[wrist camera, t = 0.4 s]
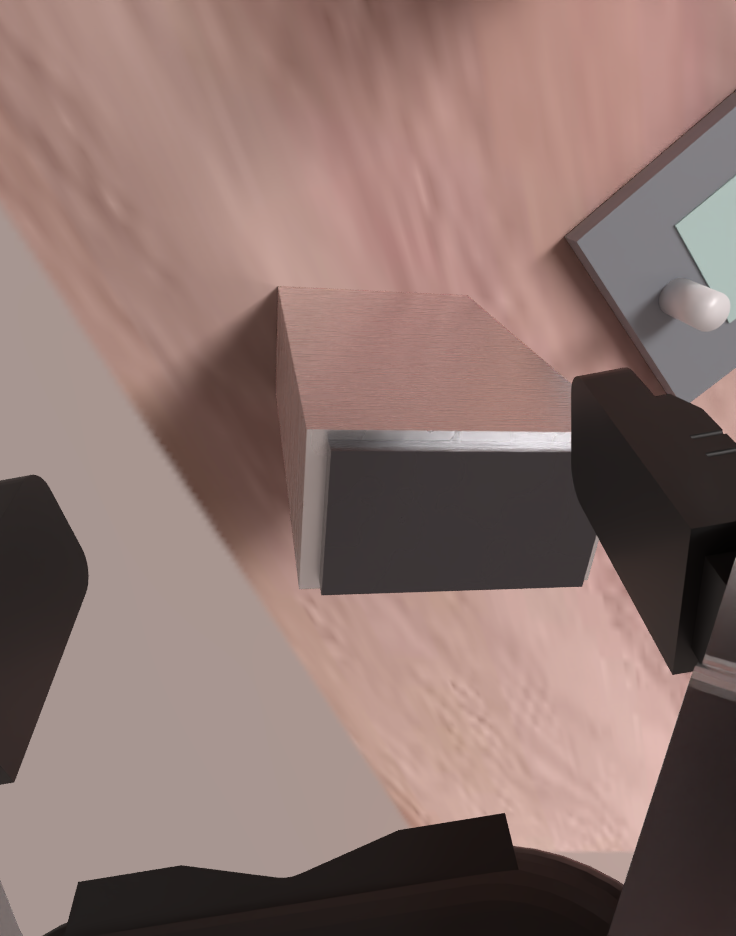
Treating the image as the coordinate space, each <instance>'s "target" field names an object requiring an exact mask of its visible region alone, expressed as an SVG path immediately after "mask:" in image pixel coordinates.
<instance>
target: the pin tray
mask: <svg viewBox="0 0 736 936" xmlns="http://www.w3.org/2000/svg"><path fill="white" fill-rule="evenodd" d="M565 238H566V240H567V241H568V243H569V244H570V246H571V247H572V249H573V251H574V252H575V254H576V255H577V257H578V258H579V260H580V261H581V263H582V264H583V266H584V267H585V269H586V270H587V272H588V274H589V275H590V277H591V278H592V280H593V281H594V283H595V284H596V286H597V287H598V289H599V290H600V292H601V293H602V295H603V296H604V298H605V300H606V301H607V303H608V304H609V306H610V307H611V309H612V310H613V312H614V313H615V315H616V316H617V318H618V319H619V321H620V323H621V324H622V326H623V327H624V329H625V330H626V332H627V333H628V335H629V336H630V338H631V339H632V341H633V342H634V344H635V346H636V347H637V349H638V350H639V352H640V353H641V355H642V356H643V358H644V359H645V361H646V362H647V364H648V365H649V367H650V369H651V370H652V372H653V373H654V375H655V376H656V378H657V379H658V381H659V382H660V384H661V385H662V387H663V388H664V390H665V391H666V393H667V394H672V395H674V396H676V397H678V398H681V399H683V400H685V401H687V402H689V403H690V402H691V401H693V400H694V399H695V398H697V397H698V396H699V395H701V394H702V393H703V392H704V391H706V390H707V389H708V388H710V387H711V386H712V385H714V384H715V383H716V382H718V381H719V380H720V379H722V378H723V377H724V376H725V375H727V374H728V373H729V372H731V371H732V370H733V369H735V368H736V91H734V92H733V93H732V94H731V95H730V96H729V97H727V98H726V99H725V100H724V101H723V102H722V103H720V104H719V105H718V106H717V107H716V108H715V109H713V110H712V111H711V112H710V113H709V114H707V115H706V116H705V117H704V118H703V119H702V120H700V121H699V122H698V123H697V124H696V125H695V126H693V127H692V128H691V129H690V130H689V131H688V132H686V133H685V134H684V135H683V136H682V137H681V138H679V139H678V140H677V141H676V142H675V143H674V144H672V145H671V146H670V147H669V148H668V149H667V150H665V151H664V152H663V153H662V154H661V155H659V156H658V157H657V158H656V159H655V160H654V161H652V162H651V163H650V164H649V165H648V166H647V167H645V168H644V169H643V170H642V171H641V172H640V173H638V174H637V175H636V176H635V177H634V178H633V179H631V180H630V181H629V182H628V183H627V184H626V185H624V186H623V187H622V188H621V189H620V190H618V191H617V192H616V193H615V194H614V195H613V196H611V197H610V198H609V199H608V200H607V201H606V202H604V203H603V204H602V205H601V206H600V207H599V208H597V209H596V210H595V211H594V212H593V213H592V214H590V215H589V216H588V217H587V218H586V219H585V220H583V221H582V222H581V223H580V224H579V225H577V226H576V227H575V228H574V229H573V230H572V231H570V232H569V233H568V234H567V235H566V236H565Z"/></svg>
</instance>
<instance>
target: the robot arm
mask: <svg viewBox="0 0 736 936" xmlns="http://www.w3.org/2000/svg"><path fill="white" fill-rule="evenodd" d="M571 470H572V478H573V484H574V488H575V492H576V495H577V498H578V501H579V503H580V505H581V507H582V509H583V511H584V513H585V515H586V516H587V518H588V520H589V522H590V524H591V526H592V527H593V529H594V531H595V533H596V535H597V537H598V538H599V540H600V542H601V544H602V546H603V548H604V550H605V551H606V553H607V555H608V557H609V559H610V561H611V562H612V564H613V566H614V568H615V570H616V572H617V573H618V575H619V577H620V579H621V581H622V583H623V584H624V586H625V588H626V590H627V592H628V594H629V596H630V597H631V599H632V601H633V603H634V605H635V607H636V608H637V610H638V612H639V614H640V616H641V618H642V619H643V621H644V623H645V625H646V627H647V629H648V631H649V632H650V634H651V636H652V638H653V640H654V642H655V643H656V645H657V647H658V649H659V651H660V653H661V654H662V656H663V658H664V660H665V662H666V664H667V666H668V667H669V669H670V671H671V673H672V675H675V674H680V673H686V672H692V671H693V673H692V675H691V678H690V681H689V684H688V687H687V690H686V693H685V697H684V700H683V703H682V706H681V709H680V712H679V715H678V718H677V721H676V724H675V728H674V731H673V734H672V737H671V740H670V743H669V746H668V749H667V752H666V755H665V759H664V762H663V765H662V768H661V771H660V774H659V777H658V780H657V783H656V787H655V790H654V793H653V796H652V799H651V802H650V805H649V808H648V811H647V814H646V818H645V821H644V824H643V827H642V830H641V833H640V836H639V839H638V842H637V845H636V849H635V852H634V855H633V858H632V861H631V864H630V867H629V871H628V873H627V877H626V880H625V883H624V885H623V884H622V883H620V882H619V881H617V880H615V879H613V878H611V877H610V876H608V875H606V874H604V873H602V872H600V871H598V870H596V869H594V868H592V867H590V866H588V865H585V864H583V863H580V862H577V861H574V860H572V859H570V858H567V857H564V856H561V855H557V854H554V853H550V852H546V851H542V850H538V849H532V848H524V847H516V846H513V844H512V840H511V836H510V832H509V828H508V824H507V819H506V815H505V813H502V814H496V815H490V816H484V817H478V818H471V819H465V820H459V821H453V822H447V823H440V824H434V825H428V826H422V827H416V828H409V829H403V830H398V831H396V832H393V833H391V834H389V835H387V836H385V837H382V838H380V839H378V840H376V841H373V842H371V843H369V844H367V845H364V846H362V847H360V848H357V849H355V850H353V851H351V852H348V853H346V854H344V855H342V856H339V857H337V858H335V859H333V860H331V861H328V862H326V863H324V864H321V865H319V866H317V867H315V868H312V869H310V870H308V871H306V872H303V873H301V874H299V875H296V876H293V877H287V878H276V877H268V876H260V875H251V874H245V873H237V872H228V871H221V870H213V869H206V868H197V867H190V866H182V865H181V866H175V867H168V868H162V869H156V870H150V871H144V872H137V873H132V874H125V875H119V876H114V877H107V878H101V879H94V880H88V881H82V882H78V885H77V889H76V892H75V896H74V900H73V904H72V908H71V912H70V916H69V919H68V922H67V923H65V924H63V925H61V926H59V927H57V928H55V929H53V930H52V931H50V932H48V933H46V934H45V935H43V936H736V443H735V442H734V441H733V440H732V439H731V438H730V437H729V436H728V435H727V434H723V432H722V429H721V428H720V427H719V425H718V424H717V423H716V422H715V421H714V420H713V419H712V418H711V417H710V416H709V415H708V414H707V413H706V412H705V411H704V410H703V409H702V408H700V407H697V406H695V405H693V404H691V403H689V402H687V401H685V400H683V399H681V398H678V397H676V396H674V395H672V394H666V395H660V396H654V395H653V394H652V393H651V391H650V390H649V389H648V388H647V387H646V386H645V385H644V384H643V382H642V381H641V380H640V379H639V378H638V377H637V376H636V374H635V373H634V372H633V371H632V370H631V369H629V368H620V369H614V370H609V371H603V372H598V373H593V374H587V375H582V376H576V377H575V378H574V379H573V382H572V387H571ZM87 586H88V566H87V561H86V557H85V555H84V552H83V550H82V548H81V546H80V544H79V542H78V540H77V539H76V537H75V535H74V533H73V531H72V529H71V527H70V525H69V524H68V522H67V520H66V518H65V516H64V514H63V512H62V510H61V509H60V507H59V505H58V503H57V501H56V499H55V497H54V495H53V494H52V492H51V490H50V488H49V487H48V485H47V483H46V482H45V481H44V480H43V479H42V478H41V477H39V476H36V475H29V476H24V477H18V478H12V479H7V480H1V481H0V785H1V784H6V783H13V782H14V781H15V779H16V776H17V774H18V771H19V768H20V766H21V763H22V760H23V758H24V755H25V752H26V750H27V747H28V745H29V742H30V739H31V737H32V734H33V731H34V729H35V726H36V723H37V721H38V718H39V715H40V713H41V710H42V707H43V705H44V702H45V700H46V697H47V694H48V692H49V689H50V686H51V684H52V681H53V678H54V676H55V673H56V670H57V668H58V665H59V663H60V660H61V657H62V655H63V652H64V649H65V646H66V644H67V641H68V638H69V636H70V634H71V631H72V628H73V626H74V623H75V620H76V618H77V615H78V612H79V610H80V607H81V604H82V602H83V599H84V597H85V594H86V591H87ZM0 936H23V935H22V933H21V931H20V929H19V927H18V924H17V922H16V919H15V917H14V914H13V912H12V909H11V907H10V904H9V902H8V899H7V896H6V894H5V891H4V889H3V886H2V884H1V881H0Z"/></svg>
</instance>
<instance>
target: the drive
mask: <svg viewBox="0 0 736 936" xmlns="http://www.w3.org/2000/svg"><path fill="white" fill-rule="evenodd" d="M571 387H572V384H571V383H570V382H569V381H568V380H566V379H565V378H564V377H563V376H562V375H561V374H559V373H558V372H557V371H556V370H555V369H554V368H552V367H551V366H550V365H549V364H548V363H546V362H545V361H544V360H543V359H542V358H541V357H539V356H538V355H537V354H536V353H535V352H534V351H532V350H531V349H530V348H529V347H528V346H527V345H525V344H524V343H523V342H522V341H521V340H519V339H518V338H517V337H516V336H515V335H514V334H512V333H511V332H510V331H509V330H508V329H507V328H505V327H504V326H503V325H502V324H501V323H499V322H498V321H497V320H496V319H495V318H494V317H492V316H491V315H490V314H489V313H488V312H487V311H485V310H484V309H483V308H482V307H481V306H480V305H478V304H477V303H476V302H475V301H474V300H472V299H471V298H470V297H469V296H468V295H452V294H431V293H410V292H390V291H369V290H348V289H327V288H306V287H285V286H278V307H277V347H276V387H275V391H276V400H277V408H278V416H279V425H280V433H281V441H282V450H283V458H284V467H285V475H286V483H287V492H288V500H289V508H290V517H291V525H292V533H293V542H294V550H295V559H296V567H297V575H298V584H299V589H318V588H320V590H321V595H343V594H373V593H403V592H433V591H463V590H494V589H524V588H554V587H582V585H583V582H584V580H588V576H589V573H590V569H591V566H592V562H593V559H594V555H595V552H596V548H597V544H598V541H599V538H598V537H597V535H596V533H595V531H594V529H593V527H592V526H591V524H590V522H589V520H588V518H587V516H586V515H585V513H584V511H583V509H582V507H581V505H580V503H579V501H578V498H577V495H576V492H575V488H574V484H573V478H572V470H571Z"/></svg>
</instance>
